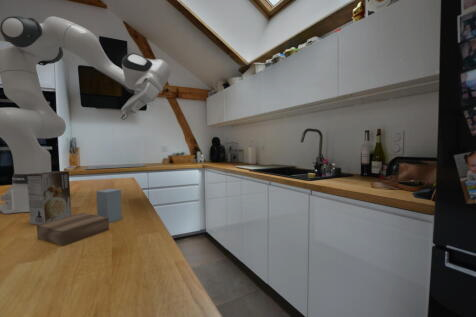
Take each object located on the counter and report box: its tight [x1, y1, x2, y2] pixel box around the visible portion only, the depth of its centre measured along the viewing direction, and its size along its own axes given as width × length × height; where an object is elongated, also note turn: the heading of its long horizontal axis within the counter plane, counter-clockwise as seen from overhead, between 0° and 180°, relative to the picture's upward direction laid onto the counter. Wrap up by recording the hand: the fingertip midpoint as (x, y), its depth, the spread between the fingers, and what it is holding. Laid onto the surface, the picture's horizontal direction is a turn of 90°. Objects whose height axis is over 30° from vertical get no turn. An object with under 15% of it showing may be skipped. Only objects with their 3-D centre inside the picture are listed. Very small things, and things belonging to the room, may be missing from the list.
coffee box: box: [27, 170, 72, 225], centre depth 76 cm, size 9×6×16 cm
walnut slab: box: [36, 212, 110, 247], centre depth 64 cm, size 12×12×4 cm
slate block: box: [95, 188, 123, 224], centre depth 75 cm, size 5×5×10 cm
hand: (127, 115), depth 84 cm, fingers open, 8 cm apart
